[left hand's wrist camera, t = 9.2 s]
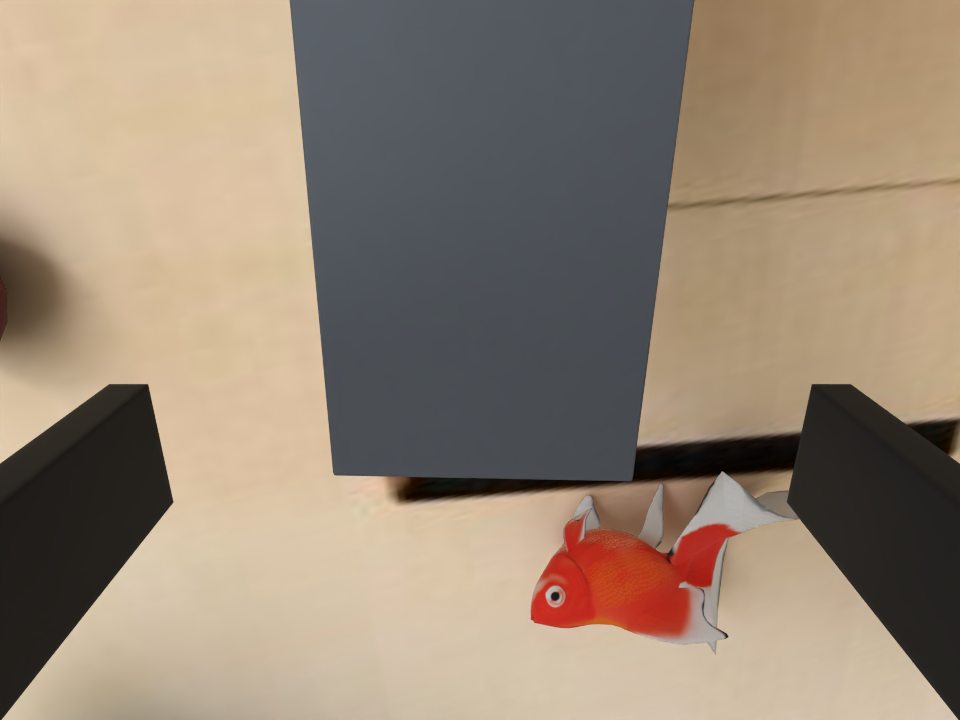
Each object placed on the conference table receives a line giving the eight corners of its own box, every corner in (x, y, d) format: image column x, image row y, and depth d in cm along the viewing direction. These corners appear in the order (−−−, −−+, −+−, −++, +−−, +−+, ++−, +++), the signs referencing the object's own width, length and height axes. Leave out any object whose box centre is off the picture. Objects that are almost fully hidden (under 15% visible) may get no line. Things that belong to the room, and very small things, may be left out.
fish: (513, 445, 30) (630, 642, 23) (758, 379, 35) (907, 522, 29) (487, 564, 37) (570, 741, 30) (694, 493, 42) (802, 628, 36)
